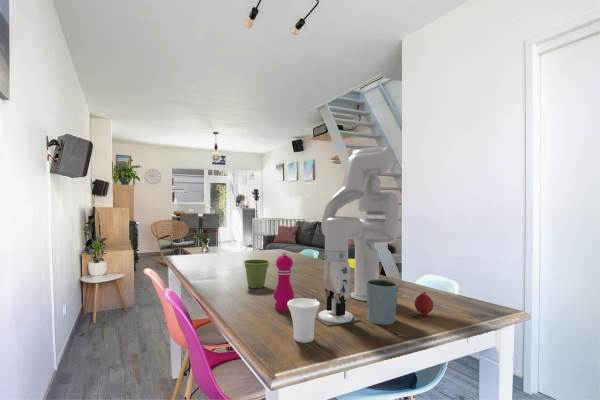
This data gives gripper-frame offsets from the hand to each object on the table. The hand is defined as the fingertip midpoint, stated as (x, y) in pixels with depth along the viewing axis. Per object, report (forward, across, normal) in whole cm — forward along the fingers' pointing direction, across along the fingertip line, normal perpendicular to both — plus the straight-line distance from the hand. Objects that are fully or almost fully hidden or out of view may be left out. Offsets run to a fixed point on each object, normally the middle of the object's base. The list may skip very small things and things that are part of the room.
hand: (335, 312), depth 106 cm
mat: (+2, 0, 0) cm, 2 cm away
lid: (+2, 0, 0) cm, 2 cm away
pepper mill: (+2, +17, +11) cm, 20 cm away
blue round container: (+2, -7, -13) cm, 15 cm away
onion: (+2, -9, -29) cm, 30 cm away
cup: (+2, -10, +17) cm, 20 cm away
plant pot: (+2, +51, +10) cm, 52 cm away
